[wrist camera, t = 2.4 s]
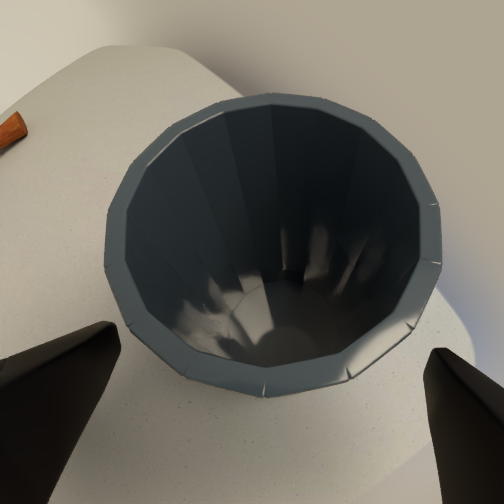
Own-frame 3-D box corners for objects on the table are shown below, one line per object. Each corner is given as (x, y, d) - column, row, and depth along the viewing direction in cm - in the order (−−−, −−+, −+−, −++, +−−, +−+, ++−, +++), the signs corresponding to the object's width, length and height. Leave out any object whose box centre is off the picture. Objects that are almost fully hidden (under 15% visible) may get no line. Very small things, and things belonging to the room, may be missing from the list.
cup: (298, 418, 16) (322, 474, 4) (199, 348, 18) (52, 251, 6) (365, 316, 18) (474, 172, 6) (268, 257, 20) (237, 68, 8)
